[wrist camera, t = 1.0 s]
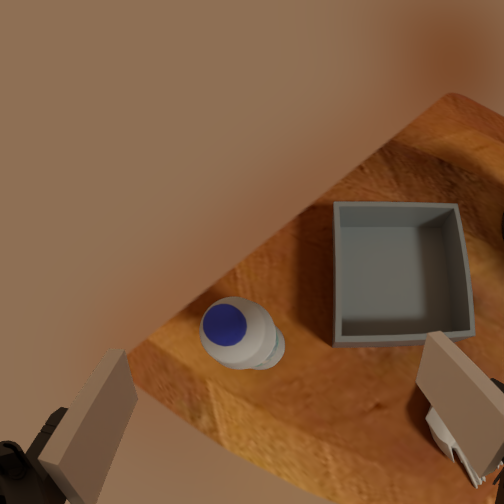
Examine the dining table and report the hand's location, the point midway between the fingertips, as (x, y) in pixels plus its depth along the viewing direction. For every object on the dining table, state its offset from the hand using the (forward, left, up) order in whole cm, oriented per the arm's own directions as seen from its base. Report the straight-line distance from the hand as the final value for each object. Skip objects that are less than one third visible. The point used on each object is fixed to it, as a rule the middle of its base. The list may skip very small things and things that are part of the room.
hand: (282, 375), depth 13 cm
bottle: (+6, -4, -30) cm, 31 cm away
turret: (-24, +9, -30) cm, 40 cm away
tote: (-12, -13, -30) cm, 35 cm away
